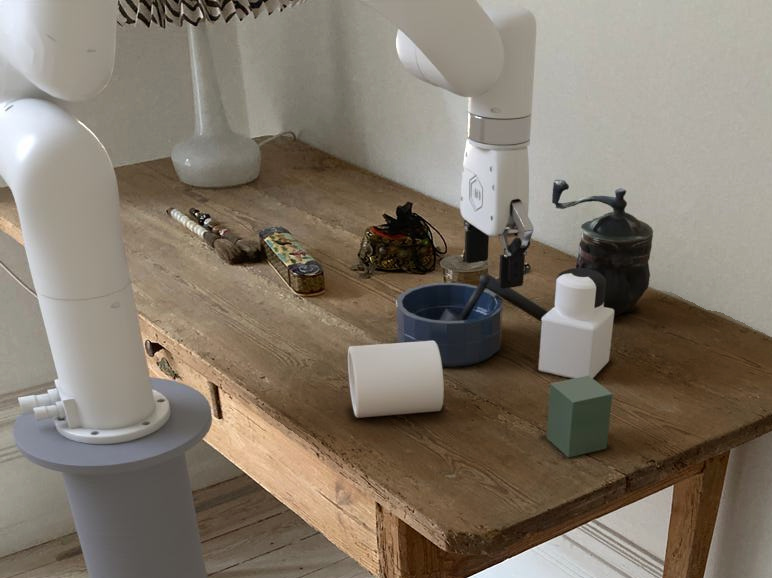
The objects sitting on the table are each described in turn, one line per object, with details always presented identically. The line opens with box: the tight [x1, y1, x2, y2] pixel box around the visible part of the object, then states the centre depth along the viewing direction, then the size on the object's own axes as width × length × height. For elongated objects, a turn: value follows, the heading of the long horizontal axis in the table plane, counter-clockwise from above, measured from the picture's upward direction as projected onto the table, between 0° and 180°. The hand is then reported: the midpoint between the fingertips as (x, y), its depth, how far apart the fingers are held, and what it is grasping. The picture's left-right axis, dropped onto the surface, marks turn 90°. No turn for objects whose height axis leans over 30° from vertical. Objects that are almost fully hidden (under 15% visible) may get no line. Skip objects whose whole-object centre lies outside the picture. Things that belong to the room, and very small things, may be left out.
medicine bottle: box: [537, 267, 615, 379], centre depth 128 cm, size 7×7×12 cm
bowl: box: [395, 282, 504, 368], centre depth 134 cm, size 14×14×6 cm
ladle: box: [439, 273, 549, 322], centre depth 137 cm, size 16×5×8 cm
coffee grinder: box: [551, 179, 654, 319], centre depth 140 cm, size 13×15×18 cm
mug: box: [347, 341, 445, 419], centre depth 120 cm, size 12×10×8 cm
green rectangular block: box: [545, 376, 613, 458], centre depth 114 cm, size 5×5×7 cm
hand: (493, 273), depth 132 cm, fingers open, 9 cm apart
